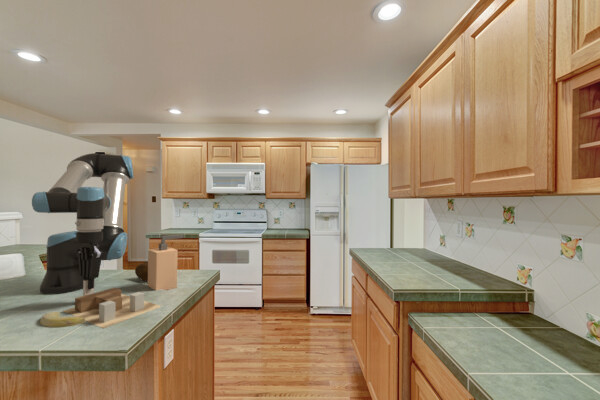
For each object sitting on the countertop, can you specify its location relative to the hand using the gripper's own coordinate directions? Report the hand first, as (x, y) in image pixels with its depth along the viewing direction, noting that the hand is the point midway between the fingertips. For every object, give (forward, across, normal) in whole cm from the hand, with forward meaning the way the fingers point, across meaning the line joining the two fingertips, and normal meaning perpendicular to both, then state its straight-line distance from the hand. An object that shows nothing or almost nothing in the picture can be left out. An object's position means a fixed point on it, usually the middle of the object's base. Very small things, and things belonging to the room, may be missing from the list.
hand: (88, 297), depth 94 cm
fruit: (+3, +9, -10) cm, 14 cm away
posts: (+2, +20, 0) cm, 20 cm away
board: (+3, +13, +1) cm, 14 cm away
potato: (+3, -10, +28) cm, 30 cm away
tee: (+2, +10, 0) cm, 11 cm away
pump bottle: (+3, +6, +26) cm, 27 cm away
